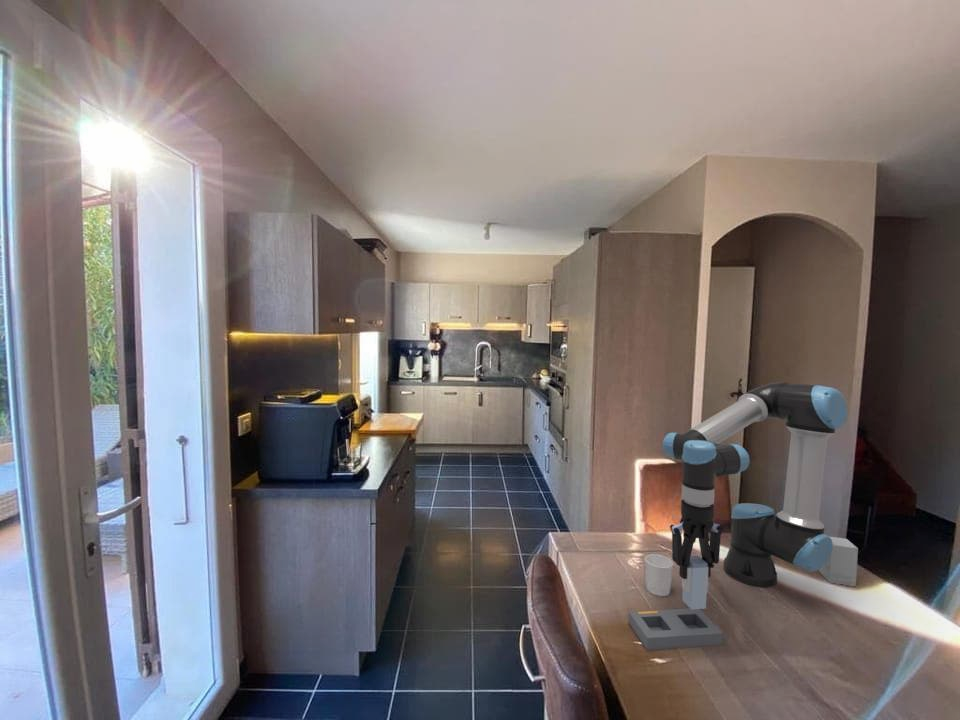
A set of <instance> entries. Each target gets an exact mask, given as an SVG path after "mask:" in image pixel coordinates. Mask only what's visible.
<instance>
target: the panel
mask: <svg viewBox="0 0 960 720" xmlns="http://www.w3.org/2000/svg"><path fill="white" fill-rule="evenodd" d="M628 624H629V625H630V627H631V628H632V630H633V632H634V633H635V635H637V638H638V639H639V640H640V642H641V643H642V645H643V647H644V648H645V649H646V650H647V651H650V650H652V651H653V650H666V649H680V648H681V649H682V648H691V647H692V648H696V647H697V648H699V647H713V646H722V645H723V642H724V641H723V640H724V639H723V638H724V633H723V631H721V629H720V628H719V627H718V626H717V625H716V624H715V623H714V622H712V620H710V618H709V617H708V615H706V614H705V613H704V612H703V610H702V609H694V610H691V609H690V608H689V607H688V608H674V609H673V608H672V609H657V610H643V611H641V610H640V611H639V610H638V611H629V612H628Z"/></svg>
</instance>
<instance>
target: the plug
mask: <svg viewBox="0 0 960 720" xmlns="http://www.w3.org/2000/svg"><path fill="white" fill-rule="evenodd" d="M707 565H708V563H706V562H705V561H704V560H703V559H702V557H700V556H699V555H691V557H690V561H689V565H688V566H689V567H690V568H691V588H690V593H687V592H686V591H685V590H684V589H683V588H682V595H681V596H682V597H681V598H682V599H681V600H682V601H683V603H685V605H686V606H687V608H688V609H689V608H690V609H691V610H694V609H700V610H704V609H707V593H708V592H707Z"/></svg>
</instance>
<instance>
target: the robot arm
mask: <svg viewBox="0 0 960 720" xmlns="http://www.w3.org/2000/svg"><path fill="white" fill-rule="evenodd" d="M847 418H848V406H847V401H846V400H845V397H844V396H843V394H842V392H840V391H839V390H838V389H836V388H834V387H830V386H824V385H813V384H804V383H794V382H793V383H792V382H791V383H790V382H785V381H781V382H779V381H778V382H770V383H767V384H765V385H761V386H758V387H756V388H754V389H753V388H752V389H751V390H749V391H747V392H745V393H743V394H741V395H740V396H739V397H738V399H737V401H736V402H734V403H732V404H731V405H729V406H728V407H725V408H724V409H722V410H721V411H719V412H718V413H716V414H714V415H712V416H711V417H708V418H707V419H706V420H703V421H702V422H701V423H699V424H697V425H695V426H693V427H691V428H690V429H689V430H687V431H684V432H683V433H679V432H669V433H667V434H666V435H665V436H664V438H663V440H662V441H663V442H662V449H663V453H664V454H665V455H666V456H667V457H670V458H672V459H675V460H676V461H680V462H682V470H681V471H682V474H681V476H682V478H681V502H680V514H681V519H680V521H679V523H678V524H676V525H674V524H671V525H670V526H669V529H670V531H671V537H672V538H671V544H672V545H671V549H672V550H671V551H672V552H671V555H672V558H671V561H672V562H674V563H675V564H676V565H677V566H679V573H678V574H679V576H680V577H681V588H682V590H683V589H684V590H685V591H686V592H687V593H690V588H691V568H690V567H689V566H688V565H689V561H690V557H691V556H692V552H693V548H694V547H693V546H694V545H695V543H696V541H697V539H698V542H699V544H698V545H699V549H700V554H701V555H700V556H701V558H702V559H703V560H704V561H705V562H706V563H708V565H707V593H708V589H709V578H711V575H712V571H711V570H712V569H713V568H714V567H715V565H714V564H719V562H720V550H721V537H722V534H723V530H724V527H723V526H722V525H720V524H719V523H717V522H714V513H715V512H714V511H715V506H714V504H715V481H716V478H718V477H723V476H729V475H736V474H739V473H741V472H744V471H746V470H747V469H748V467H749V466H750V455H749V453H748V451H746V449H745V448H744V447H743V446H741V445H739V444H736V443H735V444H733V443H727V444H721V443H722V442H724V441H726V440H728V439H729V438H730V437H732V436H734V435H735V434H737V433H738V432H740V431H741V430H743V429H745V428H747V427H748V426H750V425H751V424H754V423H755V422H758V423H760V422H762V421H764V420H766V419H780V420H785V422H786V423H785V428H787V430H788V431H789V432H790V440H789V441H790V443H789V449H788V450H789V452H788V458H787V459H788V461H787V470H786V471H787V472H786V479H785V487H784V488H785V489H784V497H783V498H784V499H783V506H782V507H783V508H782V510H781V511H779V512H777V513H776V512H775V510H774V508H772V507H771V506H768V505H764V504H760V503H754V502H753V503H749V502H745V503H742V502H741V503H738V504H735V505H734V506H733V507H732V511H731V517H730V518H731V521H730V522H731V523H730V525H731V526H730V544H729V545H730V546H729V549H728V551H727V554H726V556H725V557H724V559H723V571H724V572H725V573H726V574H727V575H728V576H729V577H731V578H732V579H734V580H736V581H739V582H741V583H743V584H746V585H750V586H754V587H758V588H759V587H761V588H769V587H775V585H777V583H778V572H777V569H776V566H775V562H774V560H773V556H774V557H776V558H778V559H781V560H782V561H785V563H789V564H791V565H793V566H794V567H797V568H800V569H803V570H804V571H808V572H816V571H819V570H820V569H821V568H822V567H823V566H824V565H825V564H826V562H827V561H828V559H829V557H830V555H831V552H832V548H833V543H832V540H831V538H830V537H831V536H829V535H828V534H826V533H825V525H824V523H823V522H822V521H821V520H820V519H819V518H820V510H821V509H820V508H821V498H822V491H823V490H822V489H823V481H824V471H825V463H826V462H825V461H826V453H827V444H828V439H829V438H830V437H832V436H834V435H835V434H836V433H835V432H836V429H840V428H842V427H843V426H844V425H845V421H847ZM775 513H776V515H775ZM682 536H683V538H682Z"/></svg>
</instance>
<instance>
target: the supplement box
mask: <svg viewBox="0 0 960 720" xmlns="http://www.w3.org/2000/svg"><path fill="white" fill-rule="evenodd" d="M829 537H830V538H831V540H832V543H833V548H832V552H831V555H830V557H829V559H828V561H827V562H826V564H825V565H824V566H823V567H822V568H821V569H819V570H818V571H819V573H820V574H821V575H822V576H823V577H824V579H825V580H826V581H827V582H828V583H831V584H834V583H835V584H836V585H840V584H843V585H842V586H846V585H851V586H850V587H853V586H857V574H858V573H857V572H858V554H859V548H858V547H857V546H856V545H855V544H854V543H852V542H851V541H850V540H849V539H847V538H843V537H834V536H829Z"/></svg>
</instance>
